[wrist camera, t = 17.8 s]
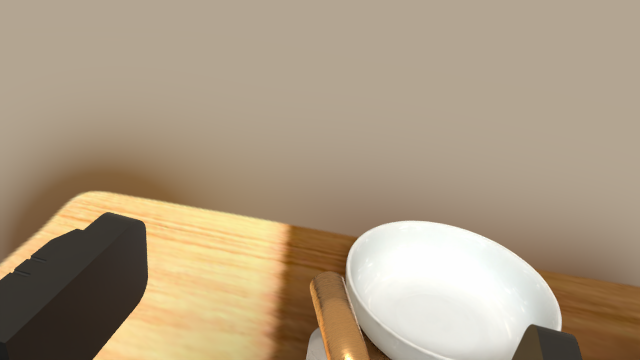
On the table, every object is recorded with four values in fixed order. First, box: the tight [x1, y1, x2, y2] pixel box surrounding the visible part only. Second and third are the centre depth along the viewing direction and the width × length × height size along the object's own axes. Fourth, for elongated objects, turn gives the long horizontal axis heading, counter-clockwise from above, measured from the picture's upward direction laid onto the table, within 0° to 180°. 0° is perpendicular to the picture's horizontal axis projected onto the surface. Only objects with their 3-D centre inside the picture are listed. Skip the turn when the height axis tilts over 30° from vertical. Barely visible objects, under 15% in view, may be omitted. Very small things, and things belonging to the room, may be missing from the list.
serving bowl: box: [346, 221, 562, 360], centre depth 50 cm, size 21×21×7 cm
